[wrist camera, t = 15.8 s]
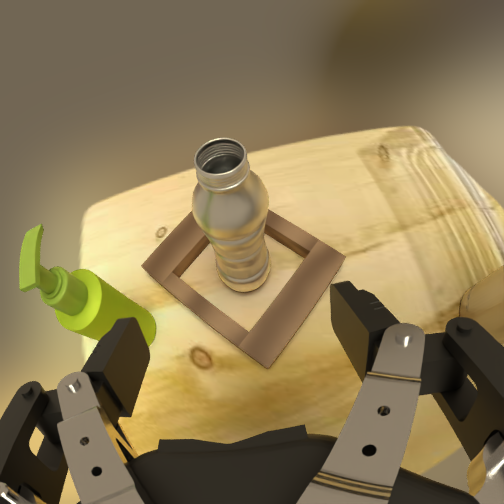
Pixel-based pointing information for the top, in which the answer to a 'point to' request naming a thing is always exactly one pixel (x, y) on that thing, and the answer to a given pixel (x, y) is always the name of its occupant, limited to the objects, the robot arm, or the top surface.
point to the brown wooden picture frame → (283, 307)
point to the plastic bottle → (232, 213)
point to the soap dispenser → (78, 295)
